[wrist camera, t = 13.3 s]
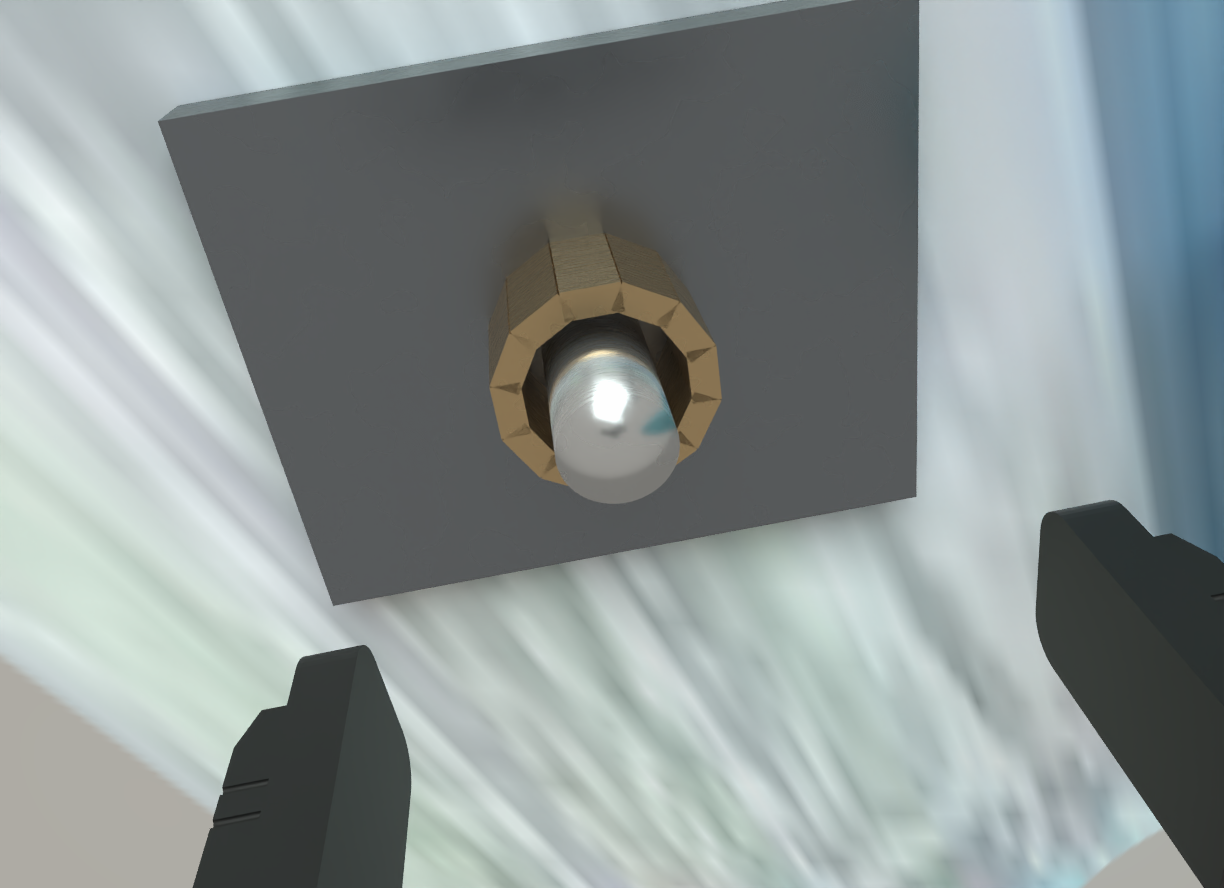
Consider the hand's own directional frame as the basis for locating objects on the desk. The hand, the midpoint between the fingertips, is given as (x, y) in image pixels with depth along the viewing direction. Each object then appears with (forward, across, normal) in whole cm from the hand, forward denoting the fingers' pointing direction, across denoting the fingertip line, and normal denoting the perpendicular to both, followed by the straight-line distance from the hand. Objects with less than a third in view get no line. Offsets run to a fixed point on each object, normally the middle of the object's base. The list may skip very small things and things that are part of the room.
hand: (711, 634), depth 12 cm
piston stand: (+21, +1, +4) cm, 21 cm away
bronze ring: (+19, +1, +4) cm, 19 cm away
